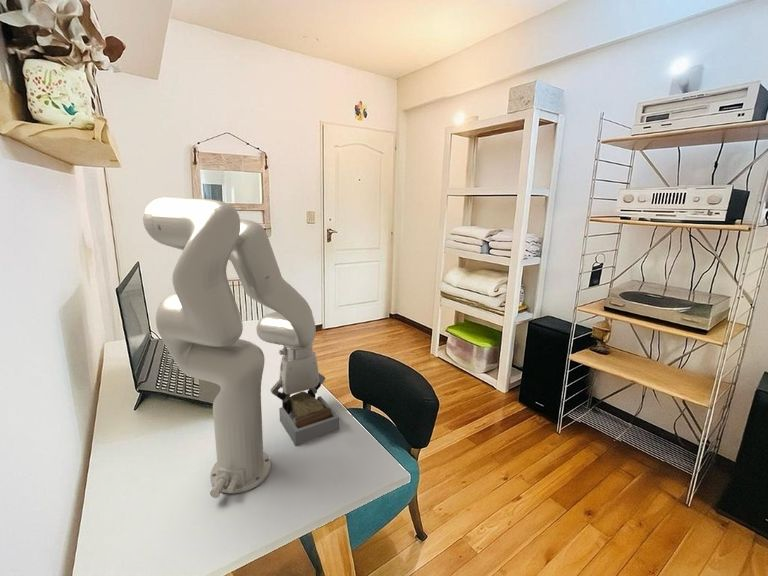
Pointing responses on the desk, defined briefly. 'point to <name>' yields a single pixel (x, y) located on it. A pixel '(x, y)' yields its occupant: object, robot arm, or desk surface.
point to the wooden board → (313, 417)
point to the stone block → (304, 404)
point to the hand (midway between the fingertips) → (299, 407)
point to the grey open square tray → (309, 426)
